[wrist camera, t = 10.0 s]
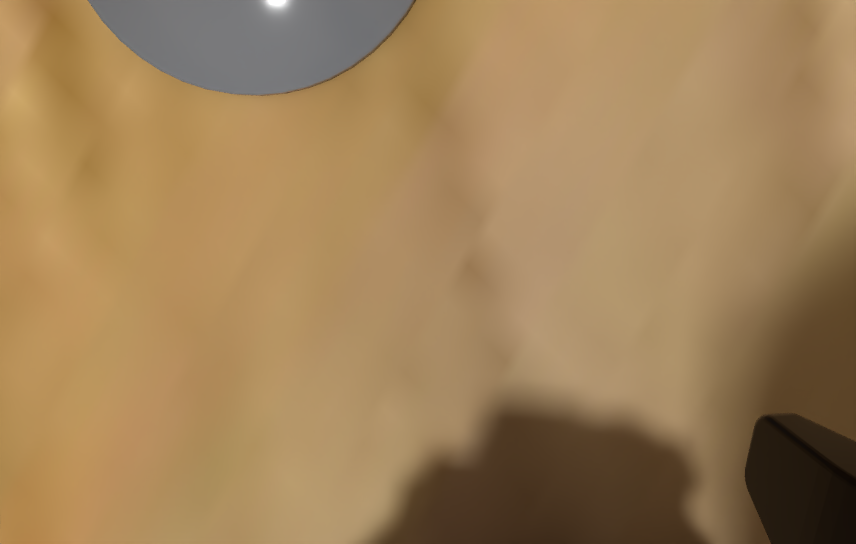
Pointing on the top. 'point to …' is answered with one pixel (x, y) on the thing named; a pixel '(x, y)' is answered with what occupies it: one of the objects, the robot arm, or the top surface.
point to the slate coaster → (253, 39)
